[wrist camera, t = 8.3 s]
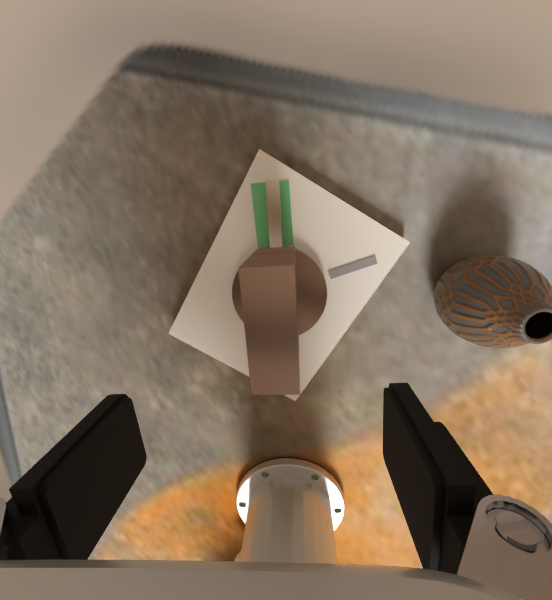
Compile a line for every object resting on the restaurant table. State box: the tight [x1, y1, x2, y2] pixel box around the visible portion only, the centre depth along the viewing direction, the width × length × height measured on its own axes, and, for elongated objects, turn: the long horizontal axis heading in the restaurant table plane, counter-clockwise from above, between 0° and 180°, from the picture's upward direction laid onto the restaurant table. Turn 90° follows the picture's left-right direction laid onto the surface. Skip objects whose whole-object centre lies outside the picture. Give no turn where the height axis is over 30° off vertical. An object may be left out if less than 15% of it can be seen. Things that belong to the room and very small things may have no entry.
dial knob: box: [232, 180, 327, 395], centre depth 20 cm, size 13×8×9 cm, turn 4°
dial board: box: [168, 149, 410, 401], centre depth 26 cm, size 18×14×2 cm
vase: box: [434, 255, 552, 348], centre depth 22 cm, size 7×7×9 cm
